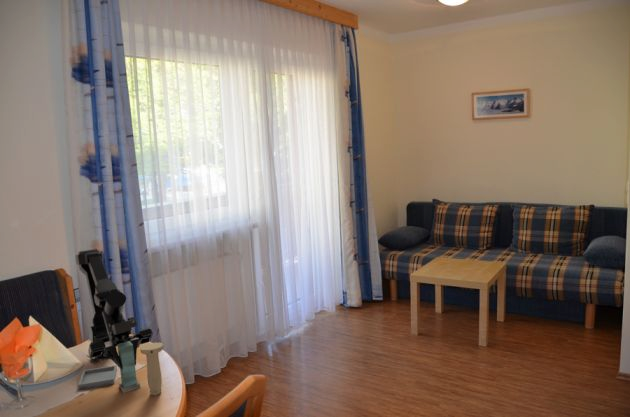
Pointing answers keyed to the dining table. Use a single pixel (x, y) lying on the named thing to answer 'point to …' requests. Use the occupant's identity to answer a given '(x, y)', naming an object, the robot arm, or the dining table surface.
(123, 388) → the teal green tall block
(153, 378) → the handle
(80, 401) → the dining table surface
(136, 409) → the dining table surface
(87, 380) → the tray
